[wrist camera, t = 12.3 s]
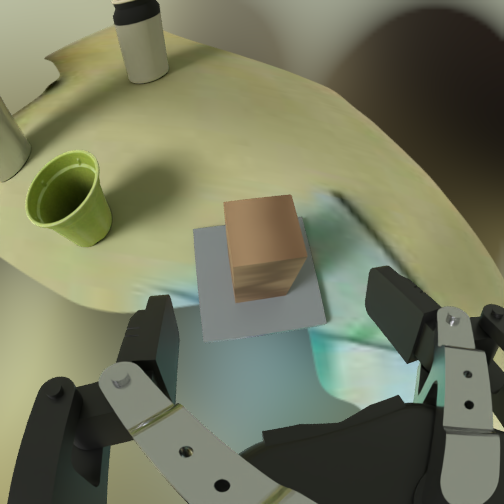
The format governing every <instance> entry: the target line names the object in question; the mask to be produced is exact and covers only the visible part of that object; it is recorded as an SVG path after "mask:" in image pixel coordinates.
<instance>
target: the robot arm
mask: <svg viewBox="0 0 504 504" xmlns="http://www.w3.org/2000/svg"><path fill="white" fill-rule="evenodd" d="M30 151H31V145H30V143H29V142H28V140H27V139H26V137H25V136H24V134H23V133H22V131H21V129H20V128H19V126H18V125H17V123H16V121H15V120H14V118H13V117H12V115H11V113H10V112H9V110H8V108H7V107H6V105H5V103H4V102H3V100H2V98H1V97H0V182H4V181H6V180H8V179H10V178H11V177H12V176H14V175H15V174H16V173H17V172H18V171H19V170H20V169H21V168H22V166H23V165H24V164H25V162H26V160H27V159H28V157H29V154H30ZM365 307H366V311H367V313H368V315H369V316H370V317H371V319H372V320H373V321H374V322H375V324H376V325H377V326H378V327H379V329H380V330H381V331H382V332H383V334H384V335H385V336H386V337H387V339H388V340H389V341H390V342H391V344H392V345H393V346H394V348H395V349H396V350H397V351H398V353H399V354H400V355H401V357H402V358H403V359H404V361H405V362H406V363H407V364H408V363H411V362H414V361H416V360H419V361H420V363H419V366H418V369H417V378H416V387H415V394H414V401H413V403H404V402H403V400H402V399H401V397H400V396H399V395H397V396H394V397H392V398H389V399H386V400H383V401H381V402H378V403H375V404H372V405H369V406H368V407H366V408H364V409H363V410H361V411H359V412H358V413H356V414H355V415H353V416H351V417H349V418H347V419H346V420H344V421H342V422H339V423H328V424H299V425H294V426H289V427H284V428H278V429H273V430H267V431H262V436H263V441H262V442H260V443H257V444H255V445H253V446H251V447H249V448H247V449H245V450H244V451H242V452H241V453H239V454H237V453H236V452H235V451H233V450H232V449H231V448H230V447H228V446H227V445H226V444H225V443H224V442H222V441H221V440H220V439H219V438H218V437H216V436H215V435H214V434H213V433H212V432H211V431H210V430H208V429H207V428H206V427H205V426H204V425H203V424H202V423H201V422H200V421H199V420H198V419H197V418H195V417H194V416H193V415H192V414H191V413H190V412H189V411H188V410H187V409H186V408H185V407H184V406H182V405H181V404H179V403H177V404H176V405H175V402H176V382H177V368H178V355H179V331H178V327H177V323H176V318H175V315H174V310H173V306H172V302H171V298H170V296H169V295H158V296H150V297H149V299H148V303H147V306H146V309H145V310H138V311H137V312H136V313H135V314H134V315H133V316H132V317H131V318H130V321H129V324H128V327H127V330H126V333H125V337H124V339H123V342H122V345H121V348H120V351H119V355H118V358H117V361H116V363H115V364H112V365H110V366H109V367H107V368H106V369H105V370H104V371H103V372H102V373H101V375H100V377H99V381H98V382H95V383H92V384H88V385H84V386H80V387H76V386H75V385H74V383H73V382H72V381H71V380H70V379H69V378H66V377H55V378H52V379H50V380H48V381H47V382H45V383H44V384H43V385H42V386H41V388H40V390H39V392H38V394H37V397H36V400H35V402H34V405H33V408H32V411H31V414H30V416H29V419H28V422H27V426H26V429H25V432H24V435H23V438H22V442H21V445H20V449H19V453H18V456H17V460H16V464H15V468H14V472H13V477H12V482H11V486H10V492H9V497H8V503H7V504H107V485H108V483H107V482H108V468H109V457H110V446H111V445H115V444H119V443H123V442H127V441H131V440H134V441H135V442H136V443H137V445H138V446H139V447H140V449H141V450H142V451H143V452H144V454H145V455H146V456H147V458H148V459H149V460H150V461H151V463H152V464H153V465H154V466H155V467H156V469H157V470H158V471H159V472H160V473H161V474H162V476H163V477H164V478H165V479H166V480H167V481H168V483H169V484H170V485H171V486H172V487H173V488H174V489H175V490H176V491H177V492H178V494H179V495H180V496H181V497H182V498H183V499H184V500H185V501H186V502H187V503H188V504H504V432H503V431H500V430H497V429H494V428H493V414H492V411H493V413H494V414H495V415H496V417H497V418H498V420H499V421H500V423H501V424H502V426H503V427H504V372H503V371H502V370H501V368H500V367H499V366H498V365H497V364H496V363H495V361H494V360H493V358H494V356H495V354H496V352H497V350H498V348H499V347H500V348H501V349H502V350H503V351H504V308H502V307H500V306H498V305H494V304H489V305H486V306H484V308H483V310H482V313H481V316H480V317H470V318H469V316H468V315H467V313H465V312H464V311H463V310H461V309H459V308H456V307H451V306H446V307H441V306H440V305H438V304H437V303H436V302H435V301H434V300H433V299H432V298H431V297H429V296H428V295H427V294H426V293H425V292H424V293H423V291H422V290H421V289H420V288H419V287H417V285H415V284H414V283H413V282H412V281H411V280H409V279H407V278H405V277H403V276H401V275H399V274H398V273H397V272H396V271H394V270H393V269H392V268H391V267H390V266H382V267H376V268H372V269H371V270H370V272H369V277H368V285H367V292H366V299H365Z"/></svg>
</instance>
